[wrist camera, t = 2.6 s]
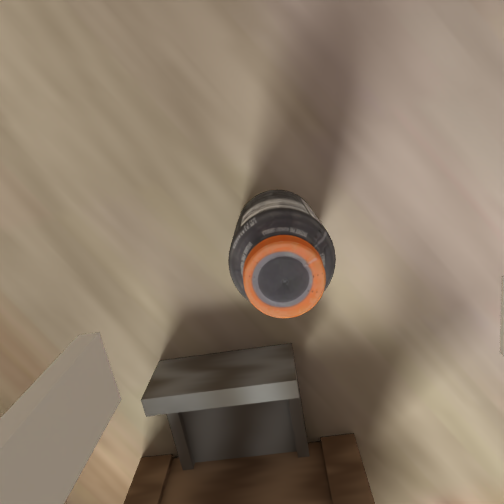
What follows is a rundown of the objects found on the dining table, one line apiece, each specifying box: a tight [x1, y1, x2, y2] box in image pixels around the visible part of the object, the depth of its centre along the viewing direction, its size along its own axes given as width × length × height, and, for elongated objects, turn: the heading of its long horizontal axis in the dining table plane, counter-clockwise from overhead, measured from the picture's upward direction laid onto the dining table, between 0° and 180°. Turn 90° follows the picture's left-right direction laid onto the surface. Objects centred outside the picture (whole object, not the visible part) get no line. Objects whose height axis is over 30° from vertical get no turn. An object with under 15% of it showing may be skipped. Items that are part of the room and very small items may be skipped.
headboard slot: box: [124, 343, 375, 504], centre depth 26 cm, size 20×13×16 cm, turn 100°
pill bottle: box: [228, 190, 336, 318], centre depth 23 cm, size 6×6×11 cm
